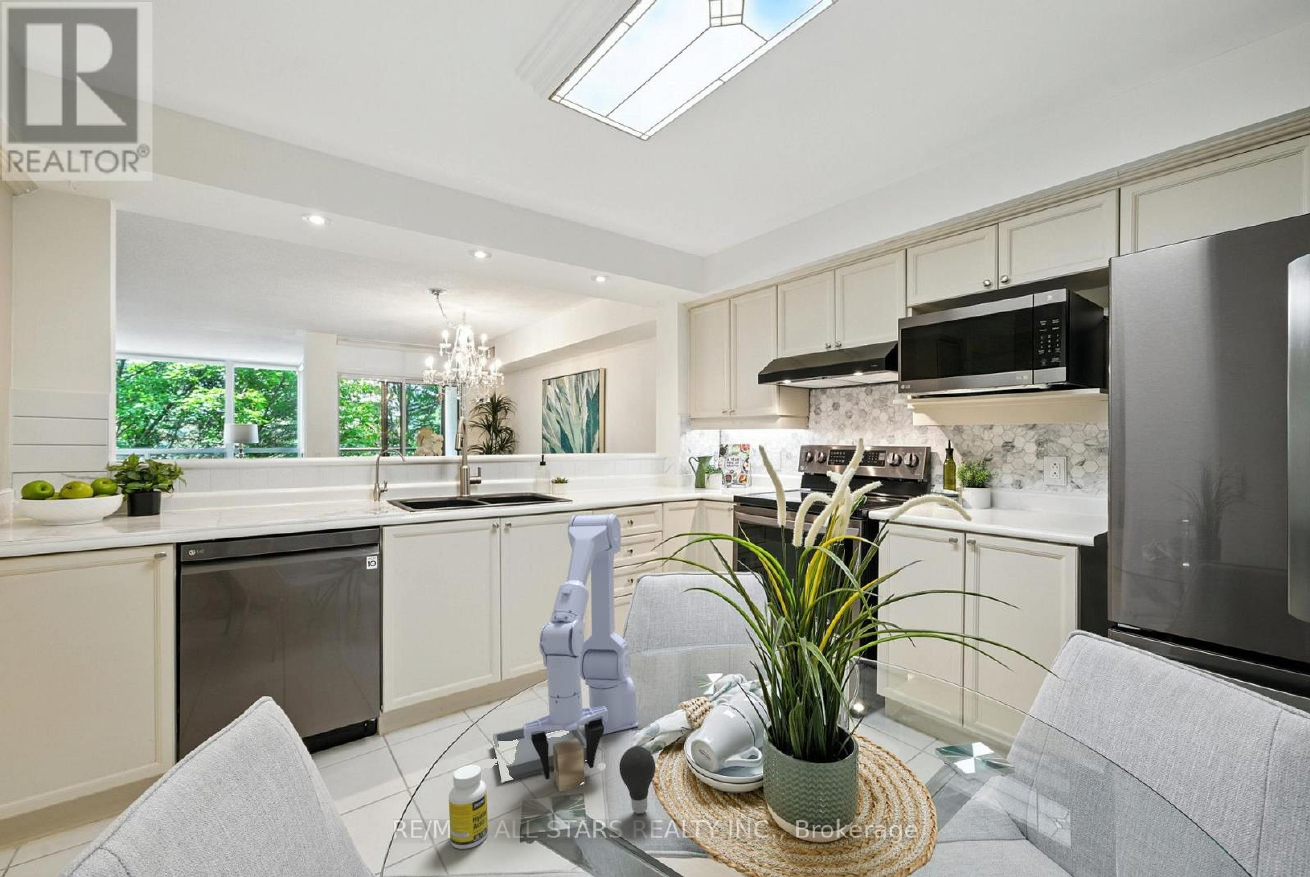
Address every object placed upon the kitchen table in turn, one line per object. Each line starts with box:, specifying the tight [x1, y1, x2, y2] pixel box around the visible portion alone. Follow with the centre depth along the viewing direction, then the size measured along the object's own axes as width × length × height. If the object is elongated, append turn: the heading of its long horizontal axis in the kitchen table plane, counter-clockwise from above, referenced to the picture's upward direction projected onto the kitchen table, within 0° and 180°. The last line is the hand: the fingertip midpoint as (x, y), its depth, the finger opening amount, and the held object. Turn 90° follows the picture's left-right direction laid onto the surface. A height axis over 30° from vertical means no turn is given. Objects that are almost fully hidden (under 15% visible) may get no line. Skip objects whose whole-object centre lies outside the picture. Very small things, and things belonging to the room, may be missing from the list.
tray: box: [492, 726, 587, 781], centre depth 109 cm, size 16×14×2 cm
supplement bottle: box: [448, 764, 489, 850], centre depth 85 cm, size 5×5×10 cm
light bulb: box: [618, 745, 656, 815], centre depth 89 cm, size 6×6×10 cm
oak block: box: [553, 738, 586, 792], centre depth 99 cm, size 4×4×6 cm
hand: (568, 770), depth 99 cm, fingers open, 7 cm apart
